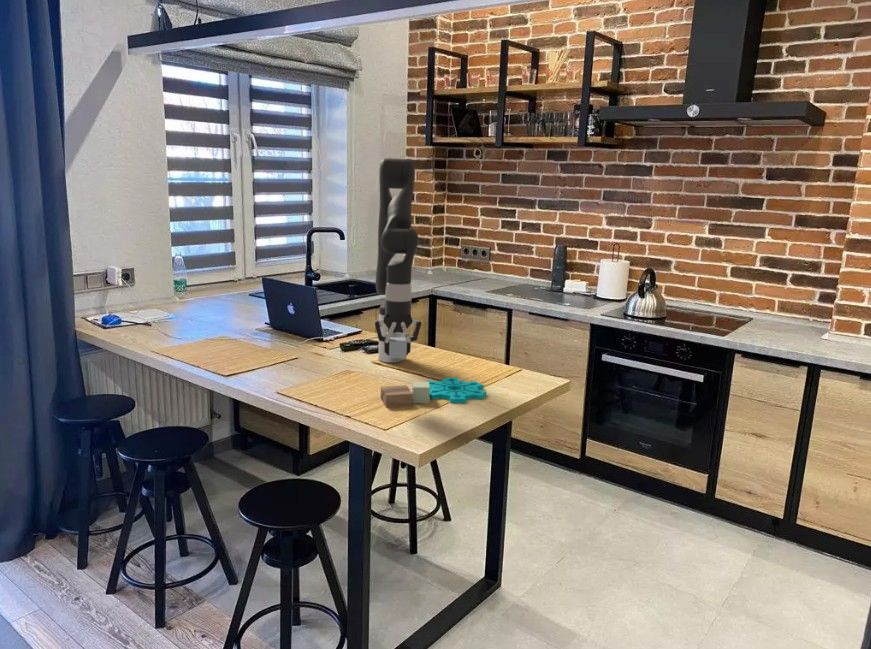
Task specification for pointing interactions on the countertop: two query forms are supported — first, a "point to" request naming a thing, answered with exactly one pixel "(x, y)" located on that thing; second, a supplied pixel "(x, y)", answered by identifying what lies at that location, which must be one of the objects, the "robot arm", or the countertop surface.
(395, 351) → the slate cube
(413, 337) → the robot arm
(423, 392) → the sage block
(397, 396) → the walnut base
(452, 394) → the decorative ornament
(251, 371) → the countertop surface
